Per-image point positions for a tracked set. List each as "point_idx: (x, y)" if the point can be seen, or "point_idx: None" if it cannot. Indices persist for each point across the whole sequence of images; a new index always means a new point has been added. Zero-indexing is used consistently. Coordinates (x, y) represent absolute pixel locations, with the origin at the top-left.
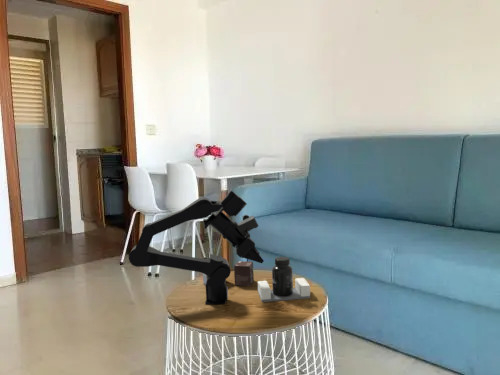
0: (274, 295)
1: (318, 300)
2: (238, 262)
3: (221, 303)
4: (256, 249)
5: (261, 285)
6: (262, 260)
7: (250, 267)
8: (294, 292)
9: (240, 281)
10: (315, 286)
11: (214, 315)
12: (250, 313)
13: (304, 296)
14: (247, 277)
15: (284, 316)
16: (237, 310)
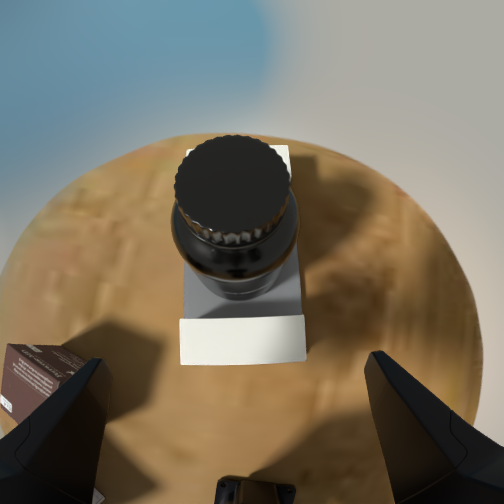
0: (257, 297)
1: (309, 155)
2: (11, 411)
3: (294, 495)
4: (81, 391)
5: (250, 355)
6: (389, 362)
7: (57, 375)
8: None
9: None
10: (179, 139)
11: (378, 496)
12: None
13: None
14: None
15: (426, 284)
16: (361, 441)
